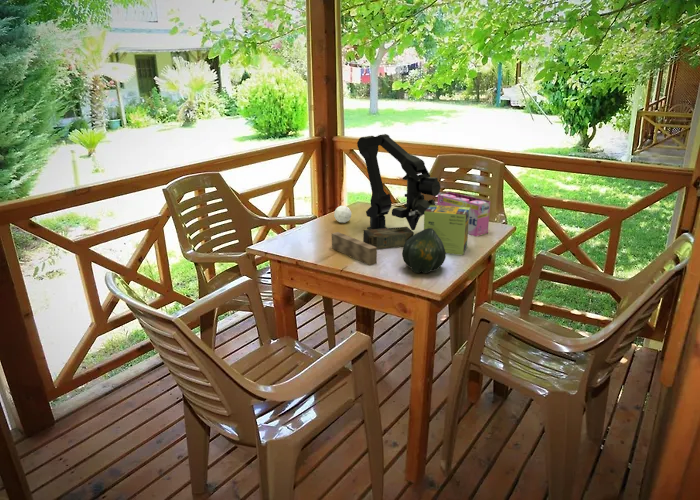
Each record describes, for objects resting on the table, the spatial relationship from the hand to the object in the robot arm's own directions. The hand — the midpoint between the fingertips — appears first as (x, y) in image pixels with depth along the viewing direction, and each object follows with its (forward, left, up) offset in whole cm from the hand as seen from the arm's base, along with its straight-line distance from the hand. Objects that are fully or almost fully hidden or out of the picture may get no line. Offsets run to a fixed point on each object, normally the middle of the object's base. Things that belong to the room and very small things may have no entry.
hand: (413, 230), depth 200 cm
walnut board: (0, -30, -4) cm, 31 cm away
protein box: (+17, +1, -4) cm, 17 cm away
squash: (+26, -20, -4) cm, 33 cm away
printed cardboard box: (-1, -13, -4) cm, 13 cm away
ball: (-36, -8, -4) cm, 38 cm away
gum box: (+4, +25, -4) cm, 26 cm away
